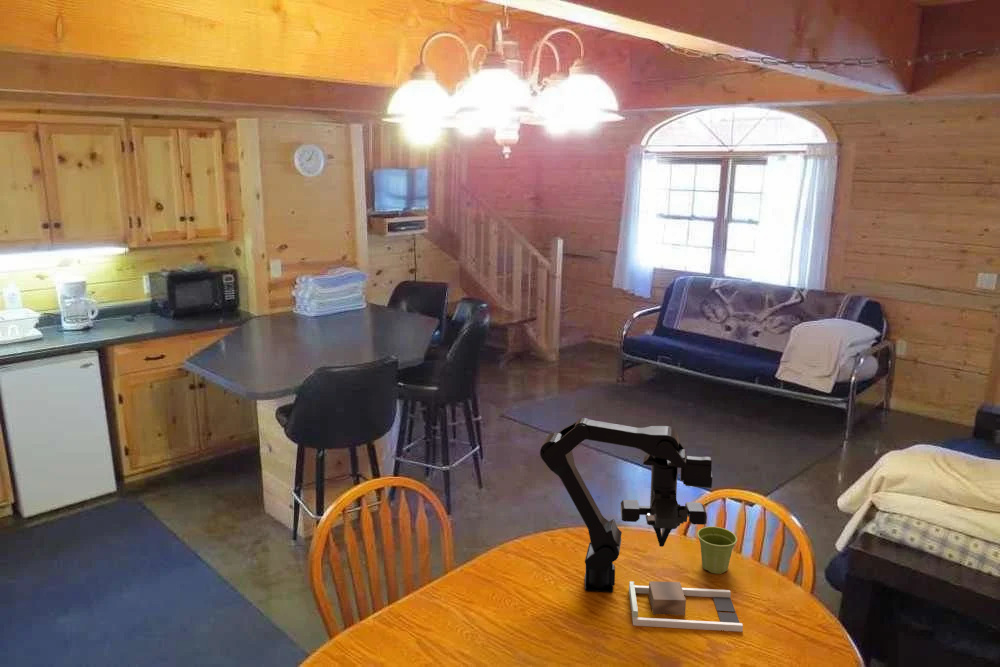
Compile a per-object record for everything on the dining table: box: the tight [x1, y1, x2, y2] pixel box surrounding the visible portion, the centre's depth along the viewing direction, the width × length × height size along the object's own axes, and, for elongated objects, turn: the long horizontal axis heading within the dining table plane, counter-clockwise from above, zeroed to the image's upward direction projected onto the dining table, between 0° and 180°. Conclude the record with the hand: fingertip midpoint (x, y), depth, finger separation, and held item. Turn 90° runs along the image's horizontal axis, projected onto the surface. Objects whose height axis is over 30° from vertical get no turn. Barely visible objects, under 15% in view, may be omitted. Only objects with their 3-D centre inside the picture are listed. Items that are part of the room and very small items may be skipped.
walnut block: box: [648, 580, 687, 616], centre depth 157 cm, size 7×7×4 cm
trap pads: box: [712, 597, 740, 623], centre depth 154 cm, size 4×11×1 cm, turn 174°
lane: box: [628, 581, 744, 633], centre depth 155 cm, size 23×13×3 cm, turn 84°
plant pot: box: [696, 525, 738, 575], centre depth 171 cm, size 9×9×9 cm
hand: (661, 545), depth 159 cm, fingers closed
